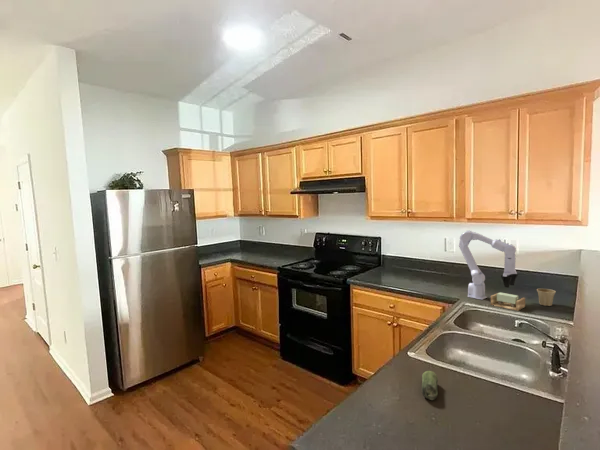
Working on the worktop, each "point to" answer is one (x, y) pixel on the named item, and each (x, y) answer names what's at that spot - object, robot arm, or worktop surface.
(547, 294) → the flower pot
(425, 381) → the vegetable
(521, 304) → the peg cradle
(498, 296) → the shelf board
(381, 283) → the worktop surface
